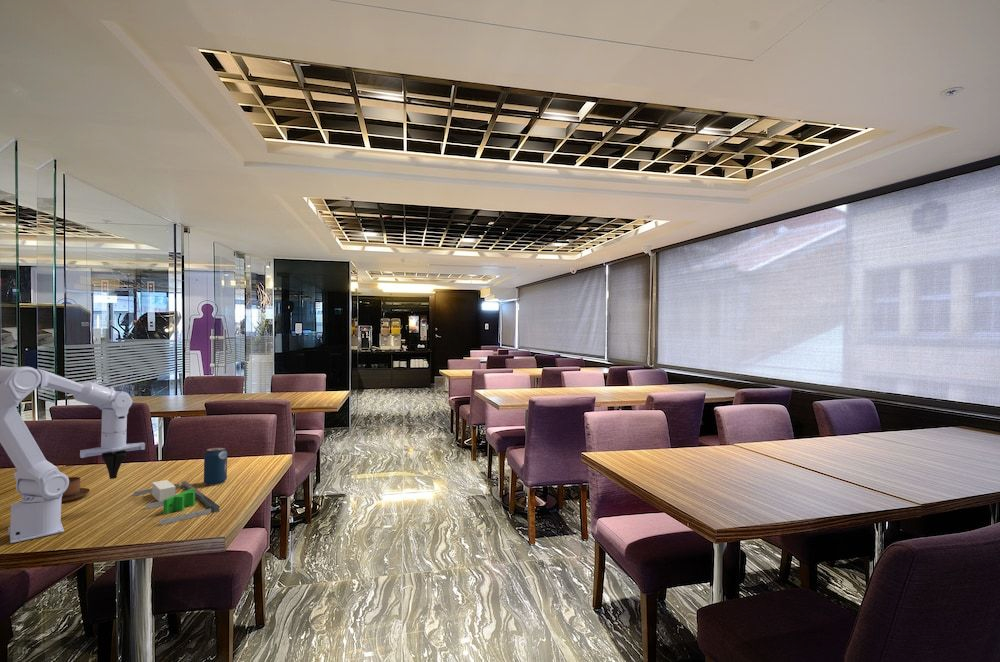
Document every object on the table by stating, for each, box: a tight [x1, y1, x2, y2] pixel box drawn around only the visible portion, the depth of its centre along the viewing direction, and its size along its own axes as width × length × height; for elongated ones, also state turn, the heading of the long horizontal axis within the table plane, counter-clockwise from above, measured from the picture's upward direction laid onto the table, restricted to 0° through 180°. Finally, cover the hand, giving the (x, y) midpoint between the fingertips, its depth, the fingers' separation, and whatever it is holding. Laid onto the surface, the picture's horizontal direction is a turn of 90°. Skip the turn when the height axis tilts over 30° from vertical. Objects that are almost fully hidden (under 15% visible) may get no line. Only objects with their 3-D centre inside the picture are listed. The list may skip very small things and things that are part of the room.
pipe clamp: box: [162, 489, 196, 515], centre depth 136 cm, size 10×4×4 cm, turn 175°
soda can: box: [203, 446, 228, 486], centre depth 161 cm, size 7×7×12 cm
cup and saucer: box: [61, 476, 91, 503], centre depth 144 cm, size 12×12×6 cm
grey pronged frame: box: [133, 480, 220, 526], centre depth 140 cm, size 14×37×2 cm, turn 47°
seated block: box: [151, 479, 177, 502], centre depth 146 cm, size 4×11×4 cm, turn 47°
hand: (112, 477), depth 134 cm, fingers closed
